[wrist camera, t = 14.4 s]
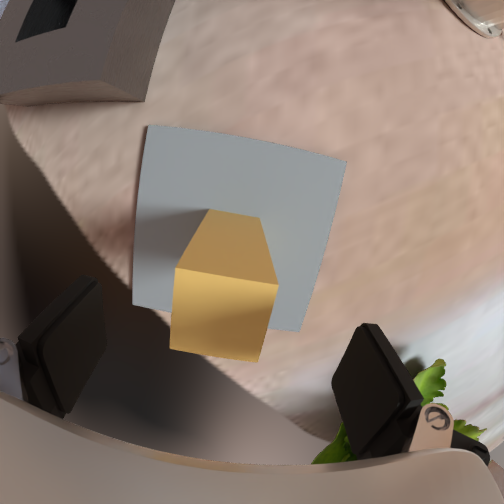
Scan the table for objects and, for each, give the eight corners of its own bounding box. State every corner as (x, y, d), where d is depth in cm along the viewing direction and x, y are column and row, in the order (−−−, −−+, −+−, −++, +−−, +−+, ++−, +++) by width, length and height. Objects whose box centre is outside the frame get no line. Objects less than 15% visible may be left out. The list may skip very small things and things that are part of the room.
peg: (259, 217, 22) (278, 285, 11) (249, 264, 23) (257, 362, 12) (209, 208, 22) (175, 267, 10) (202, 256, 23) (169, 348, 12)
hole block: (185, -25, 15) (169, -75, 7) (144, 101, 19) (100, 80, 11) (66, -7, 13) (29, -34, 6) (27, 106, 18) (-27, 102, 10)
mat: (344, 161, 21) (346, 161, 21) (298, 328, 26) (299, 332, 26) (150, 125, 20) (148, 124, 19) (134, 301, 25) (132, 304, 24)
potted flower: (464, 387, 33) (509, 452, 17) (364, 462, 39) (386, 531, 22) (414, 325, 27) (498, 433, 11) (273, 434, 33) (286, 544, 16)
